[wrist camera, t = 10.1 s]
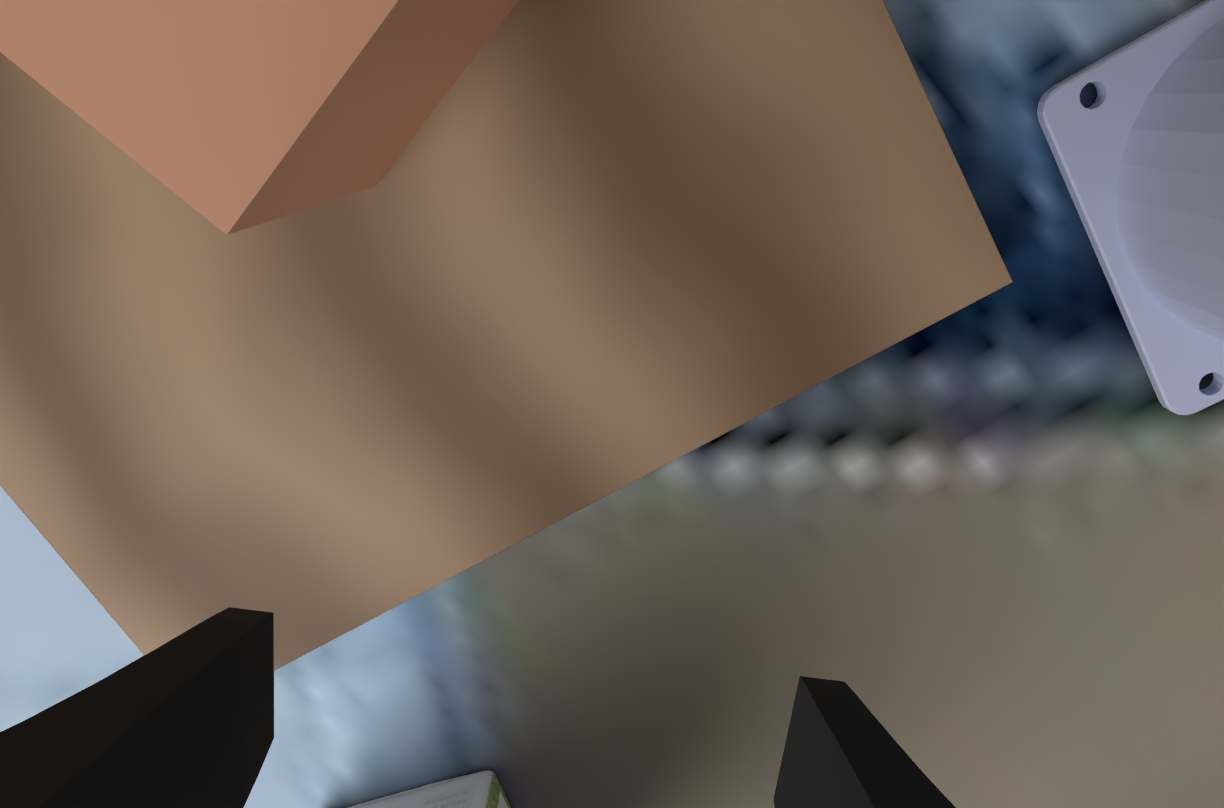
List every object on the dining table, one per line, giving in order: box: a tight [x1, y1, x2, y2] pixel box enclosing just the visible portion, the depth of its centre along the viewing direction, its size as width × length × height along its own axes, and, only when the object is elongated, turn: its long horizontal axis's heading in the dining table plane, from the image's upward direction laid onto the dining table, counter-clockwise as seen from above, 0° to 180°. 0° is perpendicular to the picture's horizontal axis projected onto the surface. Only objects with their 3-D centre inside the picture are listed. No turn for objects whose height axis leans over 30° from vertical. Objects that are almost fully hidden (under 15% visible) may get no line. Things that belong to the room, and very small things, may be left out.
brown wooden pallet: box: [0, 0, 1012, 670], centre depth 18 cm, size 22×18×3 cm
